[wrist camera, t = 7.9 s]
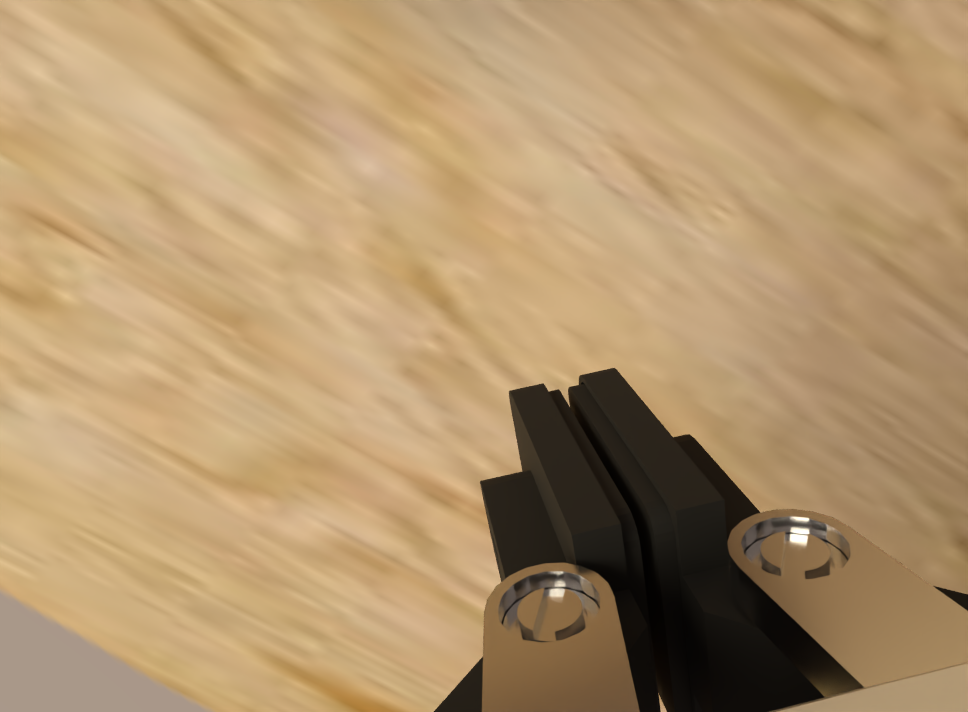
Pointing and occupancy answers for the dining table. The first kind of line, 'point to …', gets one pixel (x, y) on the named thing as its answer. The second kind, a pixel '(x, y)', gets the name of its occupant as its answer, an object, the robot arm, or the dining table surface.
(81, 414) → the dining table surface
